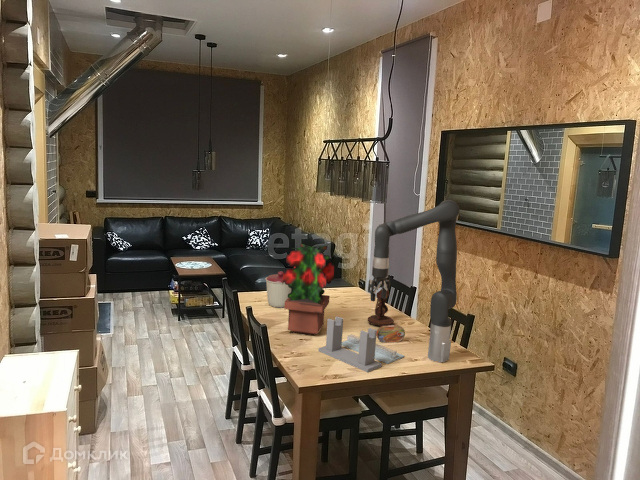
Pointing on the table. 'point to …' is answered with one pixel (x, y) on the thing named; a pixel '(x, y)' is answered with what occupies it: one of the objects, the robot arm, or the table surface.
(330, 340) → the rack
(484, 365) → the table surface
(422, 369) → the table surface
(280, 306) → the canister
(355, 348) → the mat
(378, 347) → the steel bar
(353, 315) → the table surface
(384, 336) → the tin
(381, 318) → the brown statuette
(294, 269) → the potted plant
